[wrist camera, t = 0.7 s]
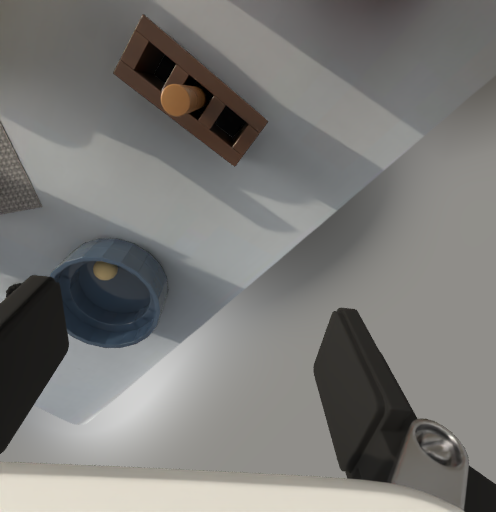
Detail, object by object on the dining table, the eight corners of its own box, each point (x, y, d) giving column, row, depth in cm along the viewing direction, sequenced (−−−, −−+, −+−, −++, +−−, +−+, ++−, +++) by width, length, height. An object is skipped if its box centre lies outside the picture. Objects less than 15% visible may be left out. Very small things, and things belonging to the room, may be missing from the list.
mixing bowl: (51, 289, 49) (27, 315, 43) (94, 216, 43) (72, 235, 38) (139, 333, 53) (127, 362, 48) (187, 272, 48) (180, 296, 42)
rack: (235, 153, 40) (234, 166, 33) (137, 77, 36) (112, 73, 29) (262, 116, 38) (268, 121, 31) (162, 30, 34) (142, 13, 27)
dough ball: (94, 265, 46) (85, 277, 43) (104, 250, 45) (95, 260, 42) (114, 276, 47) (106, 288, 44) (124, 261, 46) (117, 272, 43)
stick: (190, 98, 37) (154, 103, 21) (199, 83, 36) (170, 76, 20) (204, 110, 38) (180, 123, 22) (213, 95, 37) (196, 97, 21)
